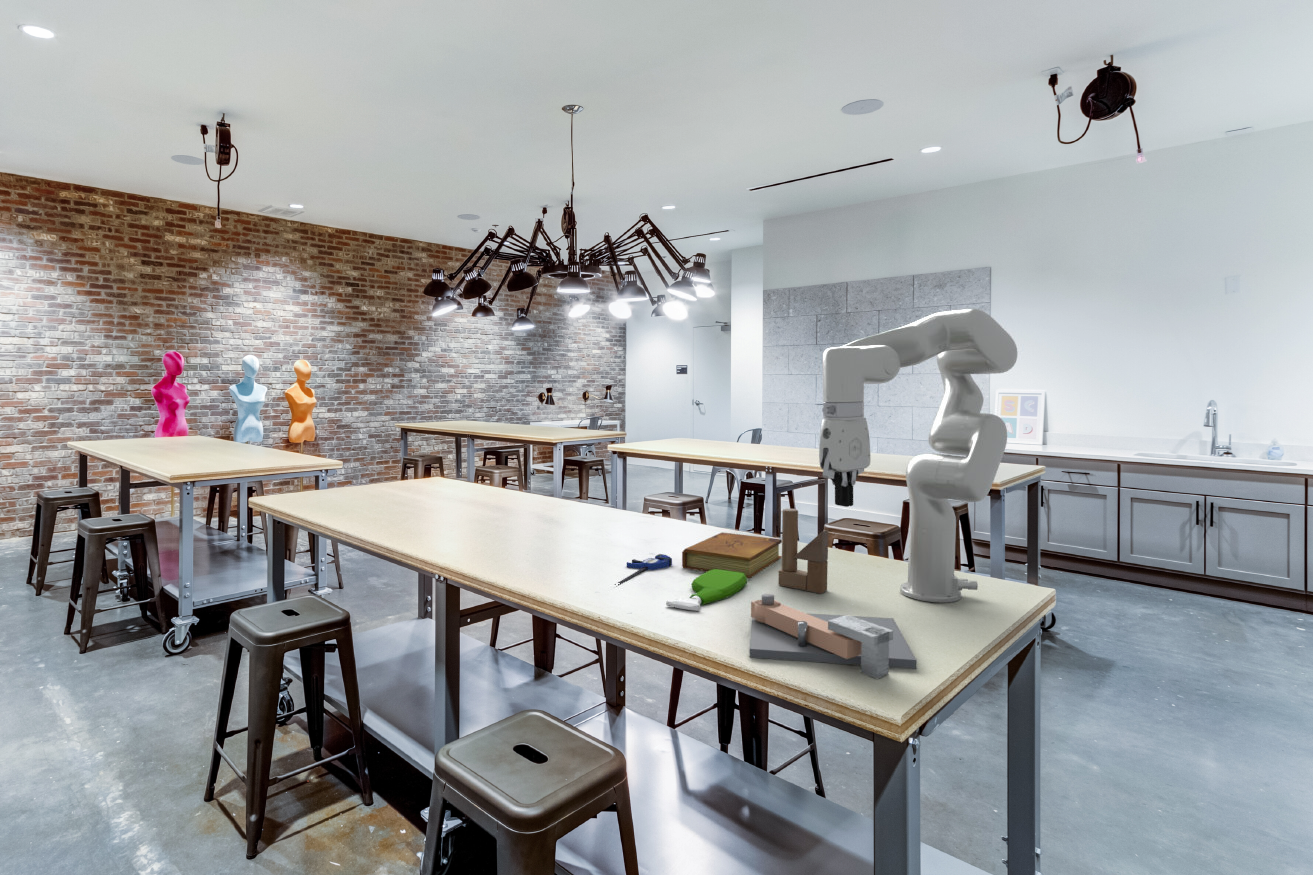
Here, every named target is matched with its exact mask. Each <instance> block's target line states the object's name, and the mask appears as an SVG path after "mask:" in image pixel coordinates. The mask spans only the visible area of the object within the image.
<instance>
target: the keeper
mask: <svg viewBox="0 0 1313 875" xmlns="http://www.w3.org/2000/svg"><path fill="white" fill-rule="evenodd" d="M852 616H853V615H849V614H845V616H842V617H838V618H835V619H832V620H829V621H828V630H831V631H833V632H836V633H839V634H841V635H844V636H847V637H849V638H852V639H855V640H857V641H860V642H862V645H861V665H860V673H862V674H863V675H865V676H869V677H871V678H873V679H875V680H878V679H880V678H883V677H885V676H888V675H889V668H890V667H889V641H890V640H893V630H890V629H887V628H885V627H882V626H879V625H876V624H873V623H870V622H867V621H864V620H861V619H858V618H855V617H852ZM798 646H800V647H807V622H805V621H799V622H798Z"/></svg>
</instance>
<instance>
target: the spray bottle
mask: <svg viewBox="0 0 1313 875" xmlns="http://www.w3.org/2000/svg"><path fill="white" fill-rule="evenodd" d="M747 582H748V578H747V577H746V576H745V574H744V573H740V572H733V571H726V570H719V569H713V570H710V571H708V572H703V573H702V574H700V575H698V577H696V578H695V579H693V581H692V582H691V589H692V591H694V593H693V594H691V595H690V596H689V597H688V598H683V599H682V597H681V596H678V599H674V600H667V601H666V603H665V605H666V606H667V607H672V608H674V607H675V608H674V609H681V610H687V611H688V610H689V611H694V612H695V611H696V612H697V611H698V612H700V611H701V605H702V606H703V605H708V604H710V603H714V602H717V601H721V600H724V599H727V598H730V597H731V596H734V595H735V594H737V593H739V592H740V591H741V590H743V588H745V586H746V585H747Z"/></svg>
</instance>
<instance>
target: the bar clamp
mask: <svg viewBox="0 0 1313 875" xmlns="http://www.w3.org/2000/svg"><path fill="white" fill-rule="evenodd" d="M672 566H673V558H672V557H670V556H669V555H667V554H662V553H658V554H656V555H655V556H654V558H652V557H648V558H646V559H643V560H638V559H634V558H633V559H631V562H629V561H627V562H626V567H627V568H629V569H638V570H637V571H635V572H633V573H632V574H630V575H628V576H627V577H624V578H623V579H621V580H620V581H618V582H617V583H620V585H622V584H624V583H625V581H626V582H628V581H629V580H630V579H631V580H632V579H633V578H634V577H636V576H637V575H639V574H640V573H642V572H644V571H655V569H656V570H660V569H667V568H669V567H672ZM623 582H624V583H623ZM621 583H622V584H621ZM614 585H616V583H615V584H614ZM620 585H619V584H618V586H620Z"/></svg>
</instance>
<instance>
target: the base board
mask: <svg viewBox="0 0 1313 875" xmlns="http://www.w3.org/2000/svg"><path fill="white" fill-rule="evenodd" d="M805 613H806V614H808V615H811V616H814V617H816V618H819V619H821V620H824V621H826V622H828V621H829V620H832V619H835V618H838V617H842V616H845V615H846V614H845V615H843V614H842V615H841V614H825V613H824V614H823V613H808V612H805ZM851 616H852V617H855V618H858V619H861V620H864V621H867V622H870V623H873V624H876V625H879V626H882V627H885V628H887V629H890V630H893V640H890V641H889V668H899V669H910V670H911V669H912V670H913V669H915V670H917V662H918V661H917V660H918V659H917V658H916V656H915V654H914V653H913V651H912V649H911V647H910V645H909V644H908V642H907V641H906V638H905V637H904V635H903V633H902V631H901V629H900V628H899V627H898V624H897V621H895V619H894V618H893V617H879V616H878V617H877V616H861V615H860V616H859V615H851ZM749 640H750V642H749V658H753V659H755V658H756V659H765V660H767V659H769V660H781V661H782V660H785V661H795V662H808V663H809V662H810V663H811V662H812V663H828V664H840V665H855V666H861V655H859V656H855V657H852V658H849V659H845V658H843V657H841V656H839V655H836V654H834V653H832V652H829V651H827V650H825V649H823V648H820V647H818V646H816V645H814V644H811V643H809V642H807V647H800V646H798V637H795V636H793V635H791V634H789V633H786V632H784V631H782V630H779V629H777V628H775V627H773V626H770V625H768V624H766V623H761V622H758V621H756V620H755V619H754V618H752V617H751V627H750V639H749Z"/></svg>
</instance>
